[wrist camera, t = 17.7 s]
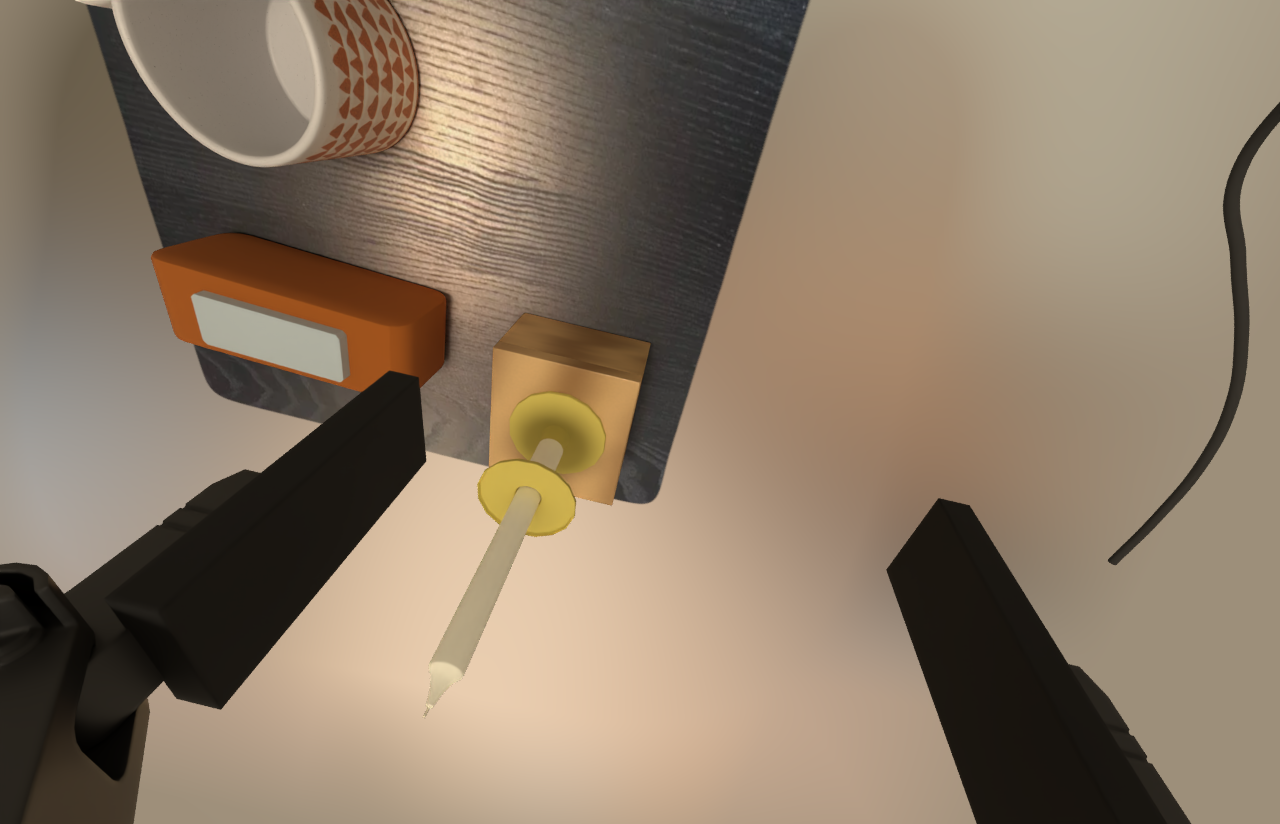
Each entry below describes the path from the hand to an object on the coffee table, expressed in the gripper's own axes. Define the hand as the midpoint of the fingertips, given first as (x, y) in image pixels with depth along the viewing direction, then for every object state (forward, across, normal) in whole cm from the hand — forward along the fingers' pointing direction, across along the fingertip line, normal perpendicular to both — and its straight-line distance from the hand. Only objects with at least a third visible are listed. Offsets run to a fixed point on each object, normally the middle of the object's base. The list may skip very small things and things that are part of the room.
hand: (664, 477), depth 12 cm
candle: (+29, -9, -22) cm, 37 cm away
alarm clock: (+37, -36, -17) cm, 55 cm away
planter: (+38, -33, +5) cm, 50 cm away
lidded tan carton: (+38, -9, -22) cm, 45 cm away
